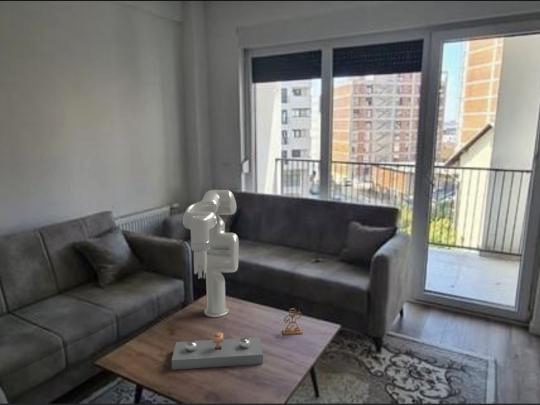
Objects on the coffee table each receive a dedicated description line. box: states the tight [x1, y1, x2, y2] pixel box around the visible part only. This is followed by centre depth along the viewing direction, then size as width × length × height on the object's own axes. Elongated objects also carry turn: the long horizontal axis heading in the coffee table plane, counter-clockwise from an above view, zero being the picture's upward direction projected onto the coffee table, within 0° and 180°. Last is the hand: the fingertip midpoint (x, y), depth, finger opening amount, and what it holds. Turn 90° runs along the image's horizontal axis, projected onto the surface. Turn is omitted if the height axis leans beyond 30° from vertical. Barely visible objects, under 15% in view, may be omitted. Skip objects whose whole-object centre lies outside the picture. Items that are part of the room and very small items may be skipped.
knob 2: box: [239, 337, 250, 349], centre depth 164 cm, size 4×4×6 cm
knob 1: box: [186, 340, 197, 352], centre depth 162 cm, size 4×4×6 cm
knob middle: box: [211, 331, 224, 349], centre depth 162 cm, size 4×4×6 cm
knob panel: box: [171, 336, 264, 370], centre depth 163 cm, size 14×36×4 cm, turn 96°
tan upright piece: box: [282, 307, 303, 336], centre depth 183 cm, size 9×4×12 cm, turn 95°
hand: (202, 286), depth 168 cm, fingers closed
